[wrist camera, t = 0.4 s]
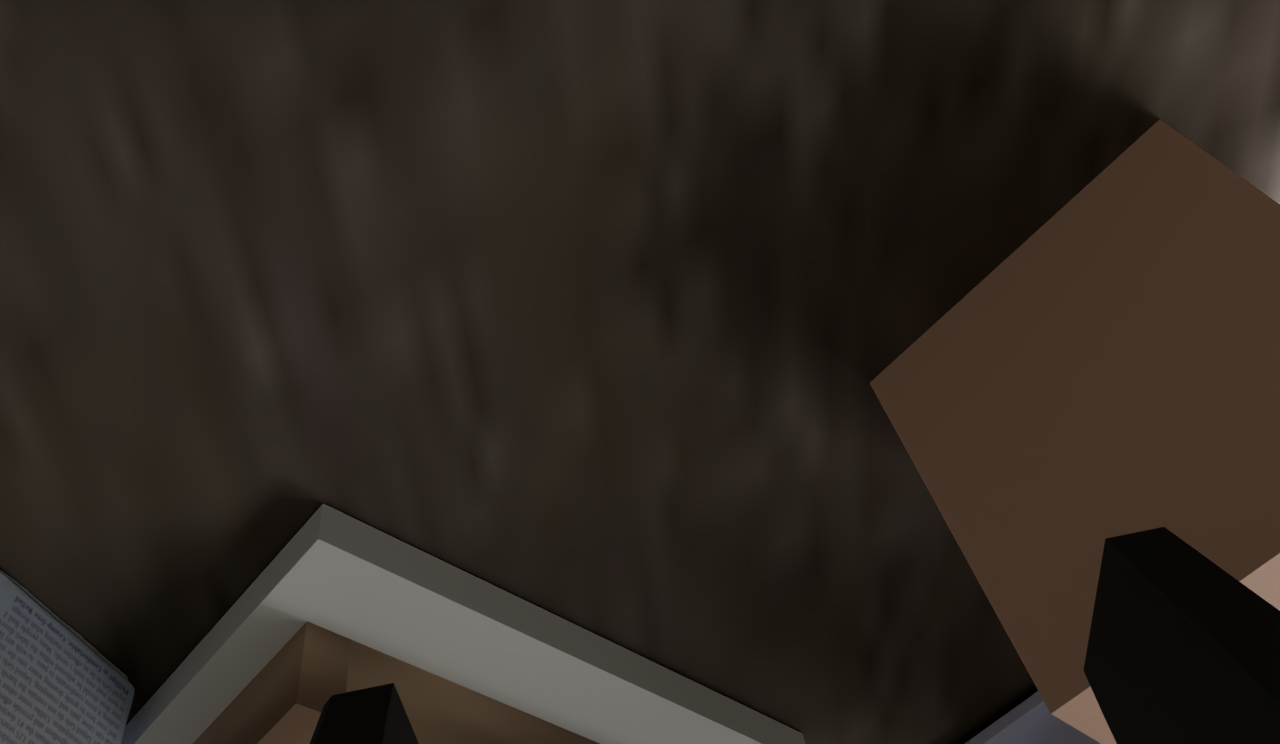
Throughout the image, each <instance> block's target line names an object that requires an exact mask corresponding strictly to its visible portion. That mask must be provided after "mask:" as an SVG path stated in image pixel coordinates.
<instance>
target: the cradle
mask: <svg viewBox="0 0 1280 744" xmlns="http://www.w3.org/2000/svg"><path fill="white" fill-rule="evenodd" d="M390 683H394V685H395V687H396V690H397V692H398V694H399V697H400V699H401V702H402V704H403V707H404V709H405V711H406V714H407V716H408V719H409V721H410V723H411V726H412V728H413V731H414V733H415V735H416V738H417V740H418V743H419V744H806V743H805V740H804V737H803V734H802V733H800V732H798V731H796V730H794V729H792V728H790V727H788V726H786V725H784V724H782V723H780V722H777V721H775V720H773V719H771V718H769V717H767V716H765V715H763V714H761V713H759V712H757V711H755V710H752V709H750V708H748V707H746V706H744V705H742V704H740V703H738V702H736V701H734V700H732V699H730V698H727V697H725V696H723V695H721V694H719V693H717V692H715V691H713V690H711V689H709V688H707V687H705V686H702V685H700V684H698V683H696V682H694V681H692V680H690V679H688V678H686V677H684V676H682V675H680V674H677V673H675V672H673V671H671V670H669V669H667V668H665V667H663V666H661V665H659V664H657V663H655V662H652V661H650V660H648V659H646V658H644V657H642V656H640V655H638V654H636V653H634V652H632V651H630V650H627V649H625V648H623V647H621V646H619V645H617V644H615V643H613V642H611V641H609V640H607V639H605V638H602V637H600V636H598V635H596V634H594V633H592V632H590V631H588V630H586V629H584V628H582V627H580V626H577V625H575V624H573V623H571V622H569V621H567V620H565V619H563V618H561V617H559V616H557V615H555V614H552V613H550V612H548V611H546V610H544V609H542V608H540V607H538V606H536V605H534V604H532V603H530V602H527V601H525V600H523V599H521V598H519V597H517V596H515V595H513V594H511V593H509V592H507V591H505V590H502V589H500V588H498V587H496V586H494V585H492V584H490V583H488V582H486V581H484V580H482V579H480V578H477V577H475V576H473V575H471V574H469V573H467V572H465V571H463V570H461V569H459V568H457V567H455V566H452V565H450V564H448V563H446V562H444V561H442V560H440V559H438V558H436V557H434V556H432V555H430V554H427V553H425V552H423V551H421V550H419V549H417V548H415V547H413V546H411V545H409V544H407V543H405V542H402V541H400V540H398V539H396V538H394V537H392V536H390V535H388V534H386V533H384V532H382V531H380V530H377V529H375V528H373V527H371V526H369V525H367V524H365V523H363V522H361V521H359V520H357V519H355V518H352V517H350V516H348V515H346V514H344V513H342V512H340V511H338V510H336V509H334V508H332V507H330V506H327V505H325V504H322V505H321V506H320V508H319V509H318V510H317V511H316V512H315V513H314V514H313V516H312V517H311V518H310V519H309V520H308V521H307V522H306V523H305V525H304V526H303V527H302V528H301V529H300V530H299V531H298V532H297V534H296V535H295V536H294V537H293V538H292V539H291V540H290V541H289V543H288V544H287V545H286V546H285V547H284V548H283V549H282V550H281V552H280V553H279V554H278V555H277V556H276V557H275V558H274V560H273V561H272V562H271V563H270V564H269V565H268V566H267V567H266V569H265V570H264V571H263V572H262V573H261V574H260V575H259V576H258V578H257V579H256V580H255V581H254V582H253V583H252V584H251V585H250V587H249V588H248V589H247V590H246V591H245V592H244V593H243V594H242V596H241V597H240V598H239V599H238V600H237V601H236V602H235V603H234V605H233V606H232V607H231V608H230V609H229V610H228V611H227V613H226V614H225V615H224V616H223V617H222V618H221V619H220V620H219V622H218V623H217V624H216V625H215V626H214V627H213V628H212V629H211V631H210V632H209V633H208V634H207V635H206V636H205V637H204V638H203V640H202V641H201V642H200V643H199V644H198V645H197V646H196V647H195V649H194V650H193V651H192V652H191V653H190V654H189V655H188V656H187V658H186V659H185V660H184V661H183V662H182V663H181V664H180V666H179V667H178V668H177V669H176V670H175V671H174V672H173V673H172V675H171V676H170V677H169V678H168V679H167V680H166V681H165V682H164V684H163V685H162V686H161V687H160V688H159V689H158V690H157V691H156V693H155V694H154V695H153V696H152V697H151V698H150V699H149V700H148V702H147V703H146V704H145V705H144V706H143V707H142V708H141V709H140V711H139V712H138V713H137V714H136V715H135V716H134V717H133V719H132V720H131V721H130V722H129V723H128V724H127V725H126V727H125V729H124V734H123V738H122V741H121V744H310V741H311V739H312V736H313V733H314V731H315V728H316V725H317V723H318V720H319V717H320V715H321V712H322V709H323V706H324V704H325V703H326V702H327V701H328V700H329V698H330V697H331V696H332V695H336V694H341V693H346V692H351V691H356V690H361V689H366V688H370V687H375V686H380V685H385V684H390Z"/></svg>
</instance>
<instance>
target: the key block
mask: <svg viewBox="0 0 1280 744" xmlns="http://www.w3.org/2000/svg"><path fill="white" fill-rule="evenodd" d="M870 385H871V387H872V389H873V390H874V392H875V394H876V396H877V398H878V399H879V401H880V403H881V405H882V407H883V409H884V410H885V412H886V414H887V416H888V418H889V420H890V421H891V423H892V425H893V427H894V429H895V430H896V432H897V434H898V436H899V438H900V440H901V441H902V443H903V445H904V447H905V449H906V451H907V452H908V454H909V456H910V458H911V460H912V461H913V463H914V465H915V467H916V469H917V471H918V472H919V474H920V476H921V478H922V480H923V482H924V483H925V485H926V487H927V489H928V491H929V492H930V494H931V496H932V498H933V500H934V502H935V503H936V505H937V507H938V509H939V511H940V513H941V514H942V516H943V518H944V520H945V522H946V523H947V525H948V527H949V529H950V531H951V533H952V534H953V536H954V538H955V540H956V542H957V543H958V545H959V547H960V549H961V551H962V553H963V554H964V556H965V558H966V560H967V562H968V564H969V565H970V567H971V569H972V571H973V573H974V574H975V576H976V578H977V580H978V582H979V584H980V585H981V587H982V589H983V591H984V593H985V595H986V596H987V598H988V600H989V602H990V604H991V605H992V607H993V609H994V611H995V613H996V615H997V616H998V618H999V620H1000V622H1001V624H1002V626H1003V627H1004V629H1005V631H1006V633H1007V635H1008V636H1009V638H1010V640H1011V642H1012V644H1013V646H1014V647H1015V649H1016V651H1017V653H1018V655H1019V657H1020V658H1021V660H1022V662H1023V664H1024V666H1025V667H1026V669H1027V671H1028V673H1029V675H1030V677H1031V678H1032V680H1033V682H1034V684H1035V686H1036V688H1037V689H1038V691H1039V693H1040V695H1041V697H1042V698H1043V700H1044V702H1045V704H1046V706H1047V708H1048V709H1049V711H1050V713H1051V714H1052V715H1054V716H1055V717H1057V718H1059V719H1060V720H1062V721H1064V722H1065V723H1067V724H1069V725H1071V726H1072V727H1074V728H1076V729H1077V730H1079V731H1081V732H1082V733H1084V734H1086V735H1088V736H1089V737H1091V738H1093V739H1094V740H1096V741H1098V742H1099V743H1101V744H1117V743H1116V741H1115V739H1114V737H1113V735H1112V733H1111V730H1110V728H1109V726H1108V724H1107V722H1106V720H1105V718H1104V715H1103V713H1102V711H1101V709H1100V706H1099V704H1098V702H1097V700H1096V698H1095V695H1094V693H1093V691H1092V689H1091V686H1090V684H1089V682H1088V680H1087V677H1086V675H1085V673H1084V671H1083V670H1084V664H1085V658H1086V652H1087V646H1088V640H1089V634H1090V628H1091V622H1092V616H1093V610H1094V604H1095V598H1096V592H1097V586H1098V580H1099V574H1100V568H1101V562H1102V556H1103V549H1104V543H1105V539H1106V538H1111V537H1116V536H1121V535H1126V534H1130V533H1135V532H1140V531H1145V530H1150V529H1155V528H1160V527H1165V528H1166V529H1168V530H1169V531H1171V532H1172V533H1173V534H1175V535H1176V536H1178V537H1179V538H1180V539H1182V540H1183V541H1185V542H1186V543H1187V544H1189V545H1190V546H1192V547H1193V548H1194V549H1196V550H1197V551H1198V552H1200V553H1201V554H1202V555H1204V556H1205V557H1207V558H1208V559H1209V560H1211V561H1212V562H1213V563H1215V564H1216V565H1217V566H1219V567H1220V568H1222V569H1223V570H1224V571H1226V572H1227V573H1228V574H1230V575H1231V576H1233V577H1234V578H1235V579H1237V580H1238V581H1239V582H1241V583H1242V584H1244V585H1245V586H1246V587H1248V588H1249V589H1250V590H1252V591H1253V592H1255V593H1256V594H1257V595H1259V596H1260V597H1261V598H1263V599H1264V600H1266V601H1267V602H1268V603H1270V604H1271V605H1272V606H1274V607H1275V608H1277V609H1278V610H1279V611H1280V205H1279V204H1278V203H1277V202H1275V201H1274V200H1272V199H1271V198H1270V197H1268V196H1267V195H1265V194H1264V193H1263V192H1261V191H1260V190H1258V189H1257V188H1256V187H1254V186H1253V185H1251V184H1250V183H1249V182H1247V181H1246V180H1244V179H1243V178H1242V177H1240V176H1239V175H1237V174H1236V173H1235V172H1233V171H1232V170H1230V169H1229V168H1228V167H1226V166H1225V165H1223V164H1222V163H1221V162H1219V161H1218V160H1216V159H1215V158H1214V157H1212V156H1211V155H1210V154H1208V153H1207V152H1205V151H1204V150H1203V149H1201V148H1200V147H1198V146H1197V145H1196V144H1194V143H1193V142H1191V141H1190V140H1189V139H1187V138H1186V137H1184V136H1183V135H1182V134H1180V133H1179V132H1177V131H1176V130H1175V129H1173V128H1172V127H1170V126H1169V125H1168V124H1166V123H1165V122H1163V121H1162V120H1161V119H1160V120H1158V121H1157V122H1156V123H1155V124H1154V125H1153V126H1152V127H1151V128H1150V129H1149V130H1147V131H1146V132H1145V133H1144V134H1143V135H1142V136H1141V137H1140V138H1139V139H1138V140H1136V141H1135V142H1134V143H1133V144H1132V145H1131V146H1130V147H1129V148H1128V149H1127V150H1125V151H1124V152H1123V153H1122V154H1121V155H1120V156H1119V157H1118V158H1117V159H1116V160H1114V161H1113V162H1112V163H1111V164H1110V165H1109V166H1108V167H1107V168H1106V169H1104V170H1103V171H1102V172H1101V173H1100V174H1099V175H1098V176H1097V177H1096V178H1095V179H1093V180H1092V181H1091V182H1090V183H1089V184H1088V185H1087V186H1086V187H1085V188H1084V189H1082V190H1081V191H1080V192H1079V193H1078V194H1077V195H1076V196H1075V197H1074V198H1073V199H1071V200H1070V201H1069V202H1068V203H1067V204H1066V205H1065V206H1064V207H1063V208H1062V209H1060V210H1059V211H1058V212H1057V213H1056V214H1055V215H1054V216H1053V217H1052V218H1051V219H1049V220H1048V221H1047V222H1046V223H1045V224H1044V225H1043V226H1042V227H1041V228H1040V229H1038V230H1037V231H1036V232H1035V233H1034V234H1033V235H1032V236H1031V237H1030V238H1029V239H1027V240H1026V241H1025V242H1024V243H1023V244H1022V245H1021V246H1020V247H1019V248H1018V249H1016V250H1015V251H1014V252H1013V253H1012V254H1011V255H1010V256H1009V257H1008V258H1006V259H1005V260H1004V261H1003V262H1002V263H1001V264H1000V265H999V266H998V267H997V268H995V269H994V270H993V271H992V272H991V273H990V274H989V275H988V276H987V277H986V278H984V279H983V280H982V281H981V282H980V283H979V284H978V285H977V286H976V287H975V288H973V289H972V290H971V291H970V292H969V293H968V294H967V295H966V296H965V297H964V298H962V299H961V300H960V301H959V302H958V303H957V304H956V305H955V306H954V307H953V308H951V309H950V310H949V311H948V312H947V313H946V314H945V315H944V316H943V317H942V318H940V319H939V320H938V321H937V322H936V323H935V324H934V325H933V326H932V327H931V328H929V329H928V330H927V331H926V332H925V333H924V334H923V335H922V336H921V337H920V338H918V339H917V340H916V341H915V342H914V343H913V344H912V345H911V346H910V347H909V348H907V349H906V350H905V351H904V352H903V353H902V354H901V355H900V356H899V357H897V358H896V359H895V360H894V361H893V362H892V363H891V364H890V365H889V366H888V367H886V368H885V369H884V370H883V371H882V372H881V373H880V374H879V375H878V376H877V377H875V378H874V379H873V380H872V381H871V382H870Z"/></svg>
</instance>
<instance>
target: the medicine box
mask: <svg viewBox="0 0 1280 744" xmlns="http://www.w3.org/2000/svg"><path fill="white" fill-rule="evenodd" d="M134 693H135V690H134V687H133V686H132V685H131V683H129V680H128V677H127V676H126V675H125V674H124V673H123V672H121V671H120V670H119V669H118V668H117V667H116V666H114V665H113V664H112V663H111V662H110V661H109V660H107V659H106V658H105V657H104V656H103V655H102V654H101V653H100V652H99V651H97V650H96V649H95V648H94V647H93V646H92V645H91V644H90V643H88V642H87V641H86V640H85V639H84V638H83V637H82V636H81V635H80V634H78V633H77V632H76V631H75V630H73V629H72V628H71V627H70V626H69V625H67V624H66V623H65V622H64V621H62V620H61V619H60V618H59V617H58V616H56V615H55V614H54V613H53V612H52V611H50V610H49V609H48V608H47V607H46V606H45V605H44V604H43V603H41V602H40V601H39V600H38V599H37V598H35V597H34V596H33V595H32V594H31V593H30V592H29V591H28V590H26V589H25V588H24V587H23V586H21V585H20V584H19V583H18V582H16V581H15V580H14V579H13V578H11V577H10V576H9V575H7V574H6V573H5V572H3V571H2V570H1V569H0V744H121V741H122V738H123V734H124V729H125V727H126V724H127V720H128V716H129V713H130V709H131V705H132V701H133V697H134Z"/></svg>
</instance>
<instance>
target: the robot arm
mask: <svg viewBox="0 0 1280 744" xmlns="http://www.w3.org/2000/svg"><path fill="white" fill-rule="evenodd" d="M1083 671H1084V673H1085V675H1086V677H1087V680H1088V682H1089V684H1090V686H1091V689H1092V691H1093V693H1094V695H1095V698H1096V700H1097V702H1098V704H1099V706H1100V709H1101V711H1102V713H1103V715H1104V718H1105V720H1106V722H1107V724H1108V726H1109V728H1110V730H1111V733H1112V735H1113V737H1114V739H1115V741H1116V743H1117V744H1280V611H1279V610H1278V609H1277V608H1275V607H1274V606H1272V605H1271V604H1270V603H1268V602H1267V601H1266V600H1264V599H1263V598H1261V597H1260V596H1259V595H1257V594H1256V593H1255V592H1253V591H1252V590H1250V589H1249V588H1248V587H1246V586H1245V585H1244V584H1242V583H1241V582H1239V581H1238V580H1237V579H1235V578H1234V577H1233V576H1231V575H1230V574H1228V573H1227V572H1226V571H1224V570H1223V569H1222V568H1220V567H1219V566H1217V565H1216V564H1215V563H1213V562H1212V561H1211V560H1209V559H1208V558H1207V557H1205V556H1204V555H1202V554H1201V553H1200V552H1198V551H1197V550H1196V549H1194V548H1193V547H1192V546H1190V545H1189V544H1187V543H1186V542H1185V541H1183V540H1182V539H1180V538H1179V537H1178V536H1176V535H1175V534H1173V533H1172V532H1171V531H1169V530H1168V529H1166V528H1165V527H1160V528H1155V529H1150V530H1145V531H1140V532H1135V533H1130V534H1126V535H1121V536H1116V537H1111V538H1106V539H1105V543H1104V549H1103V556H1102V562H1101V568H1100V574H1099V580H1098V586H1097V592H1096V598H1095V604H1094V610H1093V616H1092V622H1091V628H1090V634H1089V640H1088V646H1087V652H1086V658H1085V664H1084V670H1083ZM310 744H419V743H418V740H417V738H416V735H415V733H414V731H413V728H412V726H411V723H410V721H409V719H408V716H407V714H406V711H405V709H404V707H403V704H402V702H401V699H400V697H399V694H398V692H397V690H396V687H395V685H394V683H390V684H385V685H380V686H375V687H370V688H366V689H361V690H356V691H351V692H346V693H341V694H336V695H332V696H331V697H330V698H329V700H328V701H327V702H326V703H325V704H324V706H323V709H322V712H321V715H320V717H319V720H318V723H317V725H316V728H315V731H314V733H313V736H312V739H311V741H310ZM965 744H1101V743H1099V742H1098V741H1096V740H1094V739H1093V738H1091V737H1089V736H1088V735H1086V734H1084V733H1082V732H1081V731H1079V730H1077V729H1076V728H1074V727H1072V726H1071V725H1069V724H1067V723H1065V722H1064V721H1062V720H1060V719H1059V718H1057V717H1055V716H1054V715H1052V714H1051V713H1050V711H1049V709H1048V708H1047V706H1046V704H1045V702H1044V700H1043V698H1042V697H1041V695H1040V693H1039V691H1037V692H1036V693H1034V694H1033V695H1031V696H1030V697H1029V698H1027V699H1026V700H1024V701H1023V702H1022V703H1020V704H1019V705H1018V706H1016V707H1015V708H1013V709H1012V710H1011V711H1009V712H1008V713H1006V714H1005V715H1004V716H1002V717H1001V718H999V719H998V720H997V721H995V722H994V723H992V724H991V725H990V726H988V727H987V728H985V729H984V730H983V731H981V732H980V733H979V734H977V735H976V736H974V737H973V738H972V739H970V740H969V741H967V742H966V743H965Z"/></svg>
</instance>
